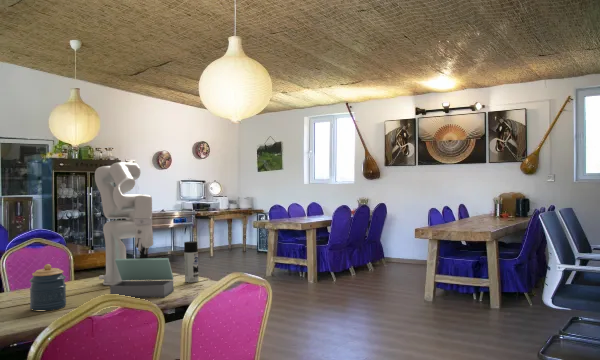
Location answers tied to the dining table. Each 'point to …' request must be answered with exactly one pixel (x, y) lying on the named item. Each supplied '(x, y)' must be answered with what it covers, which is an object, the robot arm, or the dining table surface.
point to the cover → (145, 269)
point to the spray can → (191, 261)
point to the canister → (48, 289)
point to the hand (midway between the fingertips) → (144, 262)
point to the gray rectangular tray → (143, 288)
